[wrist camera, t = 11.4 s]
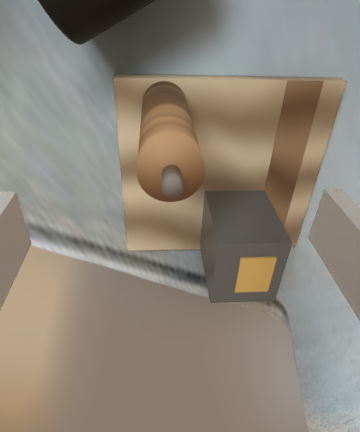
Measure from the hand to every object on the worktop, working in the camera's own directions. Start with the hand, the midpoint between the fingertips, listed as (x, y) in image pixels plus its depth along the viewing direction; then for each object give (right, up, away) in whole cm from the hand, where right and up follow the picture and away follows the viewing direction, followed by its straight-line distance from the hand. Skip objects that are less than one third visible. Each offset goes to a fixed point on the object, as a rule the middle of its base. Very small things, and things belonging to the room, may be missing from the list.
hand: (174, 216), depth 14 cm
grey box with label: (+6, 0, +20) cm, 21 cm away
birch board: (+4, +4, +18) cm, 19 cm away
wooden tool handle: (-1, +9, +13) cm, 16 cm away
